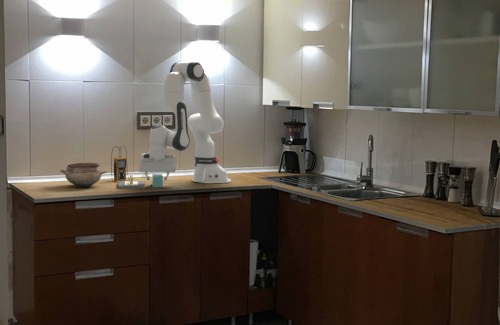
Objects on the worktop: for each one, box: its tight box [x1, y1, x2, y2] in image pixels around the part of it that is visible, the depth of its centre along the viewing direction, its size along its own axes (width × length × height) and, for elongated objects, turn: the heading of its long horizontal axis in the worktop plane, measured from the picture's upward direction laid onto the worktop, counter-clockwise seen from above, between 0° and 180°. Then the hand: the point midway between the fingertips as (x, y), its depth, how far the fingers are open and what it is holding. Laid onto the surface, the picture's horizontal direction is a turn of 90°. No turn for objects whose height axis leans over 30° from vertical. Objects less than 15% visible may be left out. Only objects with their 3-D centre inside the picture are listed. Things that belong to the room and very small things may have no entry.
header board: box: [117, 174, 146, 190], centre depth 368 cm, size 14×18×6 cm
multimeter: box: [110, 145, 130, 183], centre depth 384 cm, size 15×10×20 cm
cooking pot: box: [59, 161, 108, 188], centre depth 361 cm, size 25×19×12 cm
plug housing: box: [151, 173, 164, 188], centre depth 370 cm, size 5×11×6 cm, turn 10°
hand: (156, 180), depth 370 cm, fingers open, 8 cm apart
